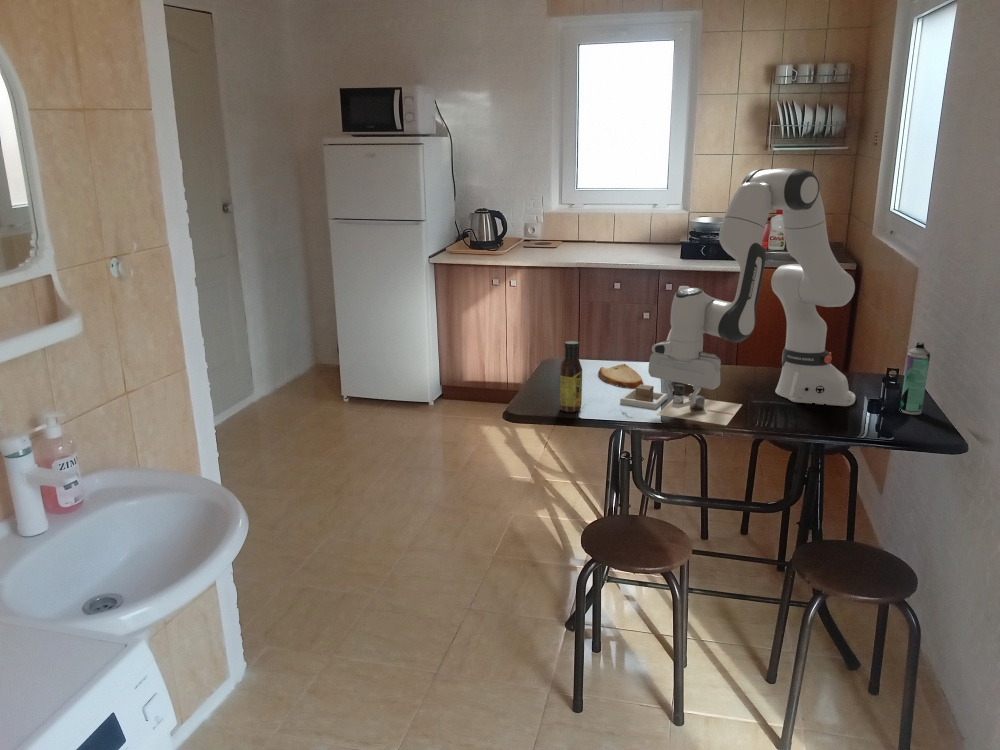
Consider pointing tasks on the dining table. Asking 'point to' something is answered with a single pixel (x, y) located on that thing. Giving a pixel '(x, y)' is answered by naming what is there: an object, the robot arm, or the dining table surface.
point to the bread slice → (621, 376)
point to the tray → (630, 400)
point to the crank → (681, 402)
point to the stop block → (644, 393)
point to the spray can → (915, 380)
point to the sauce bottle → (571, 379)
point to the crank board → (704, 412)
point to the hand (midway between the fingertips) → (682, 398)
